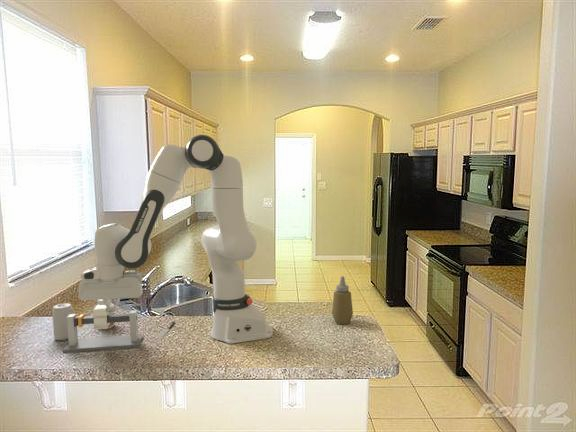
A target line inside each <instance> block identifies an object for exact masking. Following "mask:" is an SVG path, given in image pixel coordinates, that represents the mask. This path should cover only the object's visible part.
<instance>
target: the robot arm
mask: <svg viewBox="0 0 576 432" xmlns="http://www.w3.org/2000/svg"><path fill="white" fill-rule="evenodd" d="M190 168H196V169H204V170H207V171H208V172H209V174H210V175H209V176H210V188H211V189H210V190H211V191H210V192H211V193H210V194H211V195H210V197H211V199H210V200H211V206H210V207H211V212H212V214H213V215H214V216H215V218H216V221H217V225H213V226H211V227H208V228H206V229H205V230H204V231H203V233H202V235H201V237H200V238H201V239H200V241H201V245H202V248H203V249H204V250H205V252H206V254H207V258H208V262H209V265H210V269H211V274H212V282H213V283H212V284H213V285H212V286H213V296H212V312H213V320H212V326H211V332H210V337H211V338H212V339H215V340H217V341H221V342H225V343H227V344H229V345H231V344H238V343H244V342H251V341H258V340H264V339H265V340H266V339H270V338H271V337H272V336H273V334H274V330H273V326H272V325H271V324H270V323H269V322H267V319H266V316H265V314H264V313H263V312H262V311H261V310H260V309H258V308H257V307H256V306H254V305H252V304H253V299H252V298H251V296H250V295H249V294H246V293H245V292H246V291H245V290H246V289H245V273H244V270H243V269H242V268H241V266H240V264H239V262H238V261H241V262H242V261H245V260H246V261H247V260H249V259H251V258H252V257H253V256H254V254H255V253H256V250H257V240H256V238H255V236H254V235H253V234H252V232H251V231H250V229H249V225H248V222H247V220H246V219H247V218H246V215H245V211H244V208H245V207H244V185H243V183H244V182H243V174H242V173H243V172H242V167H241V162H240V161H239V160H238V159H237V158H236V157H234V156H231V155H224V154H223V151H222V150H221V148H220V147H219V145H218V143H217V142H216V140H215V139H214V138H213V137H211V136H209V135H206V134H198V135H194V136H193V137H192V138H190V139H189V141H188V142H187V143H186V145H184V146H178V145H177V144H166V145H164V146H162V148H161V149H160V150H159V152H158V154H157V155H156V156H155V159H154V160H153V162H152V164H151V166H150V168H149V170H148V173H147V175H146V179H145V183H144V187H143V192H142V197H141V198H142V199H141V202H140V206H139V210H138V212H137V214H136V216H135V218H134V221H133V223H132V225H131V228H130V229H129V228H127V227H124V226H122V225H121V224H119V223H117V222H115V223H109V224H108V223H107V224H104V225H101V226H99V227H98V228H97V229H96V230H95V232H94V240H93V241H94V242H93V243H94V253H95V258H96V259H95V266H94V267H91V268H88V269H86V270H84V271H83V272H82V273H81V274H80V279H81V281H80V282H79V283H78V299H79V300H80V301H82V302H83V301H98V300H103V303H104V304H105V306H106V307H107V312H114V313H115V312H118V305H119V303H120V301H121V300H123V299H138V298H140V297H141V296H142V295H143V286H142V285H143V284H142V282H143V274H142V272H140V271H138V270H125V268H126V269H137V268H140V267H142V266H143V265H144V264H145V263H146V262H147V260H148V257H149V255H150V252H151V250H152V248H153V247H152V246H153V244H152V240H151V238H150V237H151V234H152V233H153V230H154V228H155V225H156V222H157V220H158V219H159V216H160V214H161V213H162V211H163V210H164V209H165V208H166V206H167V205H168V204H169V203H170V202H171V201H172V200H173V198H174V197H175V195H176V193H177V192H178V190H179V188H180V185H181V183H182V181H183V178H184V177H185V175H186V173H187V172H188V170H189V169H190ZM109 299H111V300H114V303H115V304H113V305H110V304H109V303H108V301H109Z"/></svg>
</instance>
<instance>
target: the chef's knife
mask: <svg viewBox="0 0 576 432" xmlns="http://www.w3.org/2000/svg"><path fill="white" fill-rule="evenodd" d="M175 324H176V322H175V321H172V322H171V324H170V325H169V326H168V327H167V328H163V329H161V331H160V332H159V333H158V335H157V341H159V342H160V341H161V340H162V339H163V338H164V337H165V335H167V334H168V332H169V331H170V330H171V329H172V327H174V326H175Z"/></svg>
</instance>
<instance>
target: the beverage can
mask: <svg viewBox="0 0 576 432" xmlns="http://www.w3.org/2000/svg"><path fill="white" fill-rule="evenodd" d="M52 307H53V308H52V310H51V311H52V312H51V313H52V314H51V315H52V327H53V338H54V339H55V340H57V341H60V340H62V341H67V340H66V339H68V326H67V317H68V316H69V315H70V314H74V313H73V312H74V311H73V306H72V304H71V303H66V302H65V303H58V304H55V305H54V306H52Z"/></svg>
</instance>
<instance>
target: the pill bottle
mask: <svg viewBox="0 0 576 432" xmlns="http://www.w3.org/2000/svg"><path fill="white" fill-rule="evenodd" d="M97 303H98V304H97V305H105V304H104V303H103V300H97ZM108 303H109V304H110V305H114V304H113V303H112V299H109V301H108ZM110 315H115V312H110ZM114 326H115V322H113V323H110V325H109V326H108V328H106V329H105V330H108V329H111V328H113V327H114Z"/></svg>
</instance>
